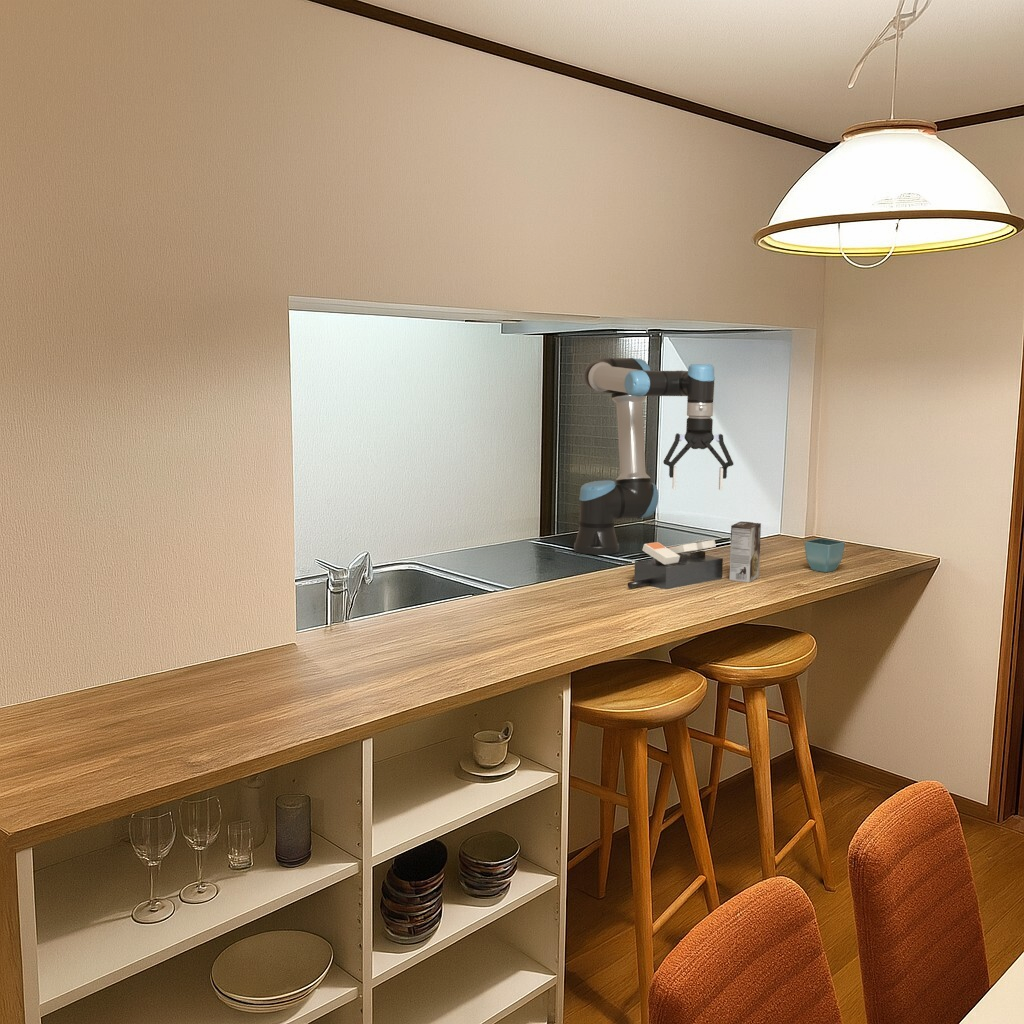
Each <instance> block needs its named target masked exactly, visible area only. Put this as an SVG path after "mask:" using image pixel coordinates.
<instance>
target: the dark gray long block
mask: <svg viewBox="0 0 1024 1024" xmlns="http://www.w3.org/2000/svg"><path fill="white" fill-rule="evenodd" d="M678 555H679V556H680V558H679V561H678V562H677V563H671V564H665V565H664V564H663V563H661V562H660V561H658V560H657V559H655V558H653V557H652V558H648V559H643V560H641V559H640V560H635V561H634V574H633V575H634V576H633V577H634V580H633V581H629V582H627V587H628V588H629V589H632V588H637V587H644V586H650V587H653V588H658V589H663V590H669V589H675V588H680V587H685V586H691V585H694V584H701V583H705V582H712V581H717V580H721V579H723V564H724V563H723V561H724V558H723V557H717V556H712V555H707V554H706V551H705V550H699V551H695V552H689V553H683V554H678Z"/></svg>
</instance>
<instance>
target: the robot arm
mask: <svg viewBox="0 0 1024 1024" xmlns="http://www.w3.org/2000/svg"><path fill="white" fill-rule="evenodd" d="M715 378H716V377H715V367H714V365H713V364H708V363H707V364H706V363H705V364H704V363H703V364H695V363H693V364H689V366H688V369H687V370H682V369H681V370H651V367H650V366H649V364H648V363H647V362H646V361H645V360H644V359H641V358H634V357H629V358H628V357H627V358H626V357H621V358H619V357H616V358H615V357H613V358H612V357H611V358H610V357H608V358H607V357H602V358H598V359H594V360H592V361H590V362H589V363H588V364H587V365H586V367H585V369H584V371H583V382H584V384H585V386H586V387H587V388H588V389H590V390H591V391H593V392H596V393H600V394H611V400H612V401H613V402H614V403H615V405H616V419H617V435H618V436H617V437H618V457H619V458H618V459H619V473H620V474H619V475H618V476H617V478H616V479H615V481H614V480H608V479H607V480H606V479H604V480H594V481H590V482H586V483H584V484H583V485H581V486H580V490H579V491H580V492H579V498H578V499H579V523H578V524H579V527H578V530H577V531H578V532H577V534H576V539H575V541H574V543H573V551H574V552H575V553H579V554H585V555H594V556H595V555H613V554H617V553H620V544H619V542H618V538H617V533H616V531H615V520H625V519H626V520H627V519H642V518H650V517H651V516H652V515H653V514H654V513H655V511H656V509H657V507H658V504H659V490H658V488H657V485H656V484H655V483H653V482H651V481H652V480H651V479H652V478H651V477H650V475H648V474H647V470H646V452H645V450H646V449H645V436H644V435H645V433H644V419H643V418H644V417H643V416H644V415H643V413H644V412H643V402H644V401H645V399H646V398H647V397H686V399H687V400H686V401H687V403H686V416H687V418H686V429H685V430H686V431H685V434H682V433H681V434H680V433H679V432H678V433H676V434H675V435H674V441H673V443H672V445H671V447H670V448H669V450H668V452H667V454H666V456H665V458H664V460H663V461H662V462H663V464H664V465H666V466H668V467H669V469H668V471H669V472H668V476H669V478H670V479H671V478H672V490H676V487H677V484H676V483H677V467H676V466H675V465H676V464H677V463H678V462H679V461H680V459H682V457H683V456H684V455H685V454H686V453H687V452H688V451H689V450H690V449H692V450H698V449H699V450H705V449H708V450H709V452H710V454H712V455H713V456H714V458H716V459H715V460H717V462H718V463H719V464H720V465H721V467H719V471H718V472H719V474H718V490H719V491H723V486H724V485H723V482H724V479H727V477H728V475H727V473H728V468H729V467H732V466H734V461H733V459H732V456H731V455H730V452H729V451H728V449H727V446H726V444H725V442H724V435H723V434H722V433H718V434H714V432H713V423H714V422H713V421H714V419H713V418H712V417H713V416H714V394H715V393H714V392H715V380H716V379H715ZM683 439H684V440H685V441H686V444H685V445H684V446H683V447H682V449H681V450H680V451H679V452H678V453H677V454H676V455H675V456H674V458H673V459H672V460H671V458H672V456H673V454H674V453H675V451H676V449H677V447H678V445H679V443H680V442H682V440H683ZM713 440H715V441H716V443H718V444H719V446H720V449H721V451H722V453H723V455H724V457H725V459H726V461H727V462H725V460H724V459H723V458H722V457H721V456H720V455H719V453H718V452H717V451H716V450H715V449H714V447H713V446H712V442H713ZM670 460H671V461H670Z"/></svg>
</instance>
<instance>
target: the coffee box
mask: <svg viewBox="0 0 1024 1024" xmlns="http://www.w3.org/2000/svg"><path fill="white" fill-rule="evenodd" d="M761 526H762V523H759V522H751V521H738V522H736V523H735V524H731V525H730V529H731V530H730V551H729V553H730V554H729V555H730V556H729V575H728V576H729V579H728V580H729V581H734V582H741V583H751V582H753V581H754V580H756V579H757V578H759V577H760V563H761V561H760V558H761V555H760V554H761V534H762V532H761V531H762V530H761V529H762V527H761Z"/></svg>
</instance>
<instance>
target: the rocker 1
mask: <svg viewBox="0 0 1024 1024" xmlns="http://www.w3.org/2000/svg"><path fill="white" fill-rule="evenodd" d="M668 548H669V547H666V546H665V545H663V544H662V543H660V542H658V541H656V542H649V543H644V544H643V547H642V551H643V552H644V553H646V554H647V555H648V556H650V557H651V558H652V559H653V558H655V559H657V560H658V561H660V562H661V563H663V564H664V565H665V564H671V563H677V562H678V561H679V558H680V556H679V555H678V554H676V553H674V552H673V551H671V550H670V549H668Z"/></svg>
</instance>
